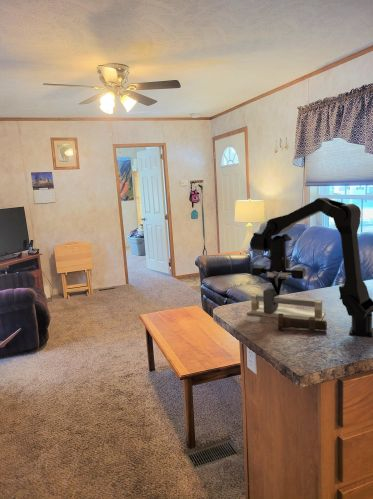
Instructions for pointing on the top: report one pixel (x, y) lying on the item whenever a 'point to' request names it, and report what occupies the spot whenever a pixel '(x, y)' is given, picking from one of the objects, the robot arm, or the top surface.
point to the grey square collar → (269, 300)
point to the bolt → (301, 323)
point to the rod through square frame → (288, 312)
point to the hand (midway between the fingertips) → (278, 294)
